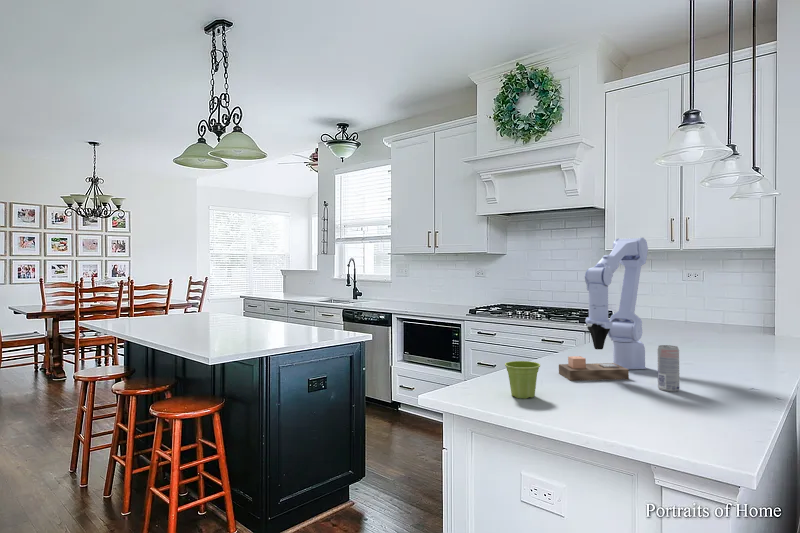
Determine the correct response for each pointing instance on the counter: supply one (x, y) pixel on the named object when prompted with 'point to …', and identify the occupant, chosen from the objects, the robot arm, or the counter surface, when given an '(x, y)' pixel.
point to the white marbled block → (608, 365)
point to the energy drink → (668, 368)
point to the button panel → (593, 372)
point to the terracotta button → (576, 362)
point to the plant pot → (522, 378)
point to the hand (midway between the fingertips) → (598, 349)
